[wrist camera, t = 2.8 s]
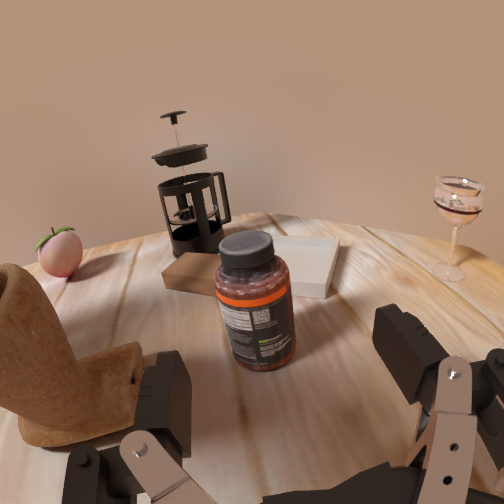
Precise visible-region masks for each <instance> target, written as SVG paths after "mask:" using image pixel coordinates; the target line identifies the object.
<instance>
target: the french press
mask: <svg viewBox="0 0 504 504" xmlns="http://www.w3.org/2000/svg"><path fill="white" fill-rule="evenodd" d="M183 113H186V111H177V112H171V113H167V114H165V115H162V116H161V117H160V118H166V117H170V118H171V123H172V125H174V129H175V135H176V141H177V146H178V147H177V148H173V149H169V150H166V151H163V152H161V153H160V154H157V155H154V156H152V157H151V158H152V159H155V161H156V162H157V164H158V165H160V166H164V165H166V166H168V167H174V168H175V167H179V166H181V167H182V172H183V176H181V177H177V178H174V179H170V180H168V181H165V182H163V183H161V184H159V185H158V190H159V195H160V199H161V203H162V207H163V211H164V216H165V220H166V223H167V227H168V231H169V235H170V239H171V243H172V247H173V255H174V257H175V258H177V259H178V258H179V257H180V256H182V255H183V254H184V253H185V252H190V253H203V254H217V253H219V244H220V242H221V241H222V240H223V239H224V238H225V237H224V232H223V227H222V225H223V224H226V223H229V222H231V215H230V209H229V203H228V198H227V191H226V186H225V180H224V174H223V173H222V172H214V173H196V174H190V175H185V171H184V165H188V164H192V163H196V162H199V161H202V160H205V159H207V154H206V148H205V147H208V144H202V145H196V144H193V145H187V146H181V147H180V145H179V139H178V134H177V128H176V124H177V115H180V114H183ZM216 175H218V178H219V184H220V190H221V196H222V200H223V207H224V212H225V219H222V220H221V219H220V214H219V208H218V203H217V197H216V192H215V187H214V177H213V176H216ZM200 180H201V181H200ZM193 181H197V182H194V183H190V184H187V182H193ZM183 183H185V185H184V184H183ZM173 186H174V187H173ZM209 186H210V191H211V197H212V202H213V205H211V204H205V203H204V198H203V193H202V189H204V188H207V187H209ZM189 193H191V196H192V201H193V205H191V201H190V196H189ZM186 194H187V197H188V202H189V206H188V204H187V199H186ZM163 196H176V198H177V203H178V207H179V210H178V211H175V212H173V213H172V214H170V215H169V216H168V214H167V210H166V206H165V201H164V197H163ZM214 215H215V217H216V221H215V220H208V219H209V218H211V217H212V216H214ZM170 224H172V225H183V226H181V227H178V228H177V229H175V230H174V231H173V232H172V230H171V226H170Z"/></svg>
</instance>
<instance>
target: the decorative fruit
mask: <svg viewBox="0 0 504 504" xmlns="http://www.w3.org/2000/svg"><path fill="white" fill-rule="evenodd" d="M51 229H52V232H53V235H49V236H46V237H44V238H43V239H42V240H40V241H39V243H38V245H37V247H36V251H37V249H38V248H39V251H38V259H39V263H40V265H41V267H42V268H43V269H44V271H46V272H47V273H48V274H50V275H52V276H55V277H59V278H65V277H71V275H72V273H73V272H74V271H75V270H76V269H77V268H78V266H79V264H80V262H81V259H82V254H83V249H82V244H81V241H80V239H79V237H78V236H77V235H75V234H74V233H72V232H70V231H68V230H75V229H73V228H70V227H64V228H61V229H59V230H57V231H56V233H54V230H53V227H52V228H51Z"/></svg>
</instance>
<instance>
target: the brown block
mask: <svg viewBox="0 0 504 504" xmlns="http://www.w3.org/2000/svg"><path fill="white" fill-rule="evenodd" d="M221 263H222V262H221V257H220V255H217V254H203V253H190V252H185V253H184V254H183V255H182V256H180V257H179V258H178V259H177V260H176V261H174V262H173V263H172V264H171V265H170V266H169V267H167V268H166V269H165V270H164V271H163V272H161V274H162V277H163V280H164V283H165V286H166V288H167V289H173V290H179V291H185V292H191V293H197V294H203V295H210V296H216V297H217V294H216V290H215V286H214V276H215V272H216V270H217V269H218V267H219V266H220V265H221Z"/></svg>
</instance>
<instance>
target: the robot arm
mask: <svg viewBox="0 0 504 504" xmlns="http://www.w3.org/2000/svg"><path fill="white" fill-rule="evenodd" d="M372 338H373V344H374V347H375V349H376V351H377V352H378V354H379V356H380V357H381V359H382V360H383V362H384V363H385V365H386V367H387V368H388V370H389V371H390V373H391V375H392V376H393V378H394V380H395V381H396V383H397V384H398V386H399V388H400V389H401V391H402V393H403V394H404V396H405V398H406V399H407V401H408V403H409V404H410V405H411V404H413V403H415V402H418V401H419V402H420V403H421V407H420V411H419V416H418V421H417V426H416V431H415V435H414V439H413V443H412V447H411V450H410V452H409V454H408V456H407V459H406V461H405V464H404V466H395V467H391V466H390V464H389V462H385V463H383V464H381V465H378V466H375V467H373V468H370V469H368V470H365V471H362V472H359V473H358V474H356V475H355V476H353V477H351V478H350V479H348V480H346V481H345V482H343V483H341V484H339V485H337V486H336V487H334V488H332V489H328V490H310V491H292V492H287V493H282V494H276V495H270V496H264V497H262V498H263V503H260V504H504V409H503V408H502V406H501V405H500V403H499V402H498V400H497V399H496V396H497V395H498V396H499V397H500V399H501V400H502V402H503V403H504V349H499V348H497V349H493V350H491V351H490V352H489V353H488V355H487V357H486V359H485V360H482V361H477V362H472V363H468V362H467V361H466V360H465V359H463V358H461V357H457V356H450V355H449V354H448V353H447V352H446V351H445V349H444V348H443V347H442V346H441V345H440V343H439V342H438V341H437V340H436V339H435V338H434V336H433V335H432V334H431V333H429V331H428V329H427V328H426V327H424V325H423V324H422V323H421V321H420V320H419V319H418V318H417V317H415V316H414V315H412V314H410V313H408V312H404V313H403V312H402V311H401V310H400V309H399V308H398V306H397V305H396V304H389V305H386V306H383V307H379V308H377V309H376V312H375V320H374V328H373V336H372ZM138 397H139V398H138V400H137V405H136V411H135V417H134V423H133V429H132V432H131V433H129V434H128V435H126V436H125V437H124V438H123V440H122V441H121V444H120V445H118V446H115V447H111V448H107V449H104V450H100V451H98V450H97V449H95V448H94V447H93V446H91V445H86V444H84V445H79V446H77V447H75V448H74V449H73V450H72V451H71V453H70V455H69V457H68V462H67V468H66V474H65V481H64V488H63V496H62V504H137V494H140V493H144V492H146V493H147V494H148V495H149V497H150V498H151V504H218V503H217V502H216V501H215V500H214V499H213V498H212V497H211V496H209V495H208V494H207V493H206V492H205V491H204V490H203V489H202V488H201V487H200V486H199V485H198V484H197V483H196V482H195V481H194V480H193V479H192V477H191V476H190V475H189V474H188V473H187V472H186V471H185V470H184V469H183V468H182V458H190V457H191V401H192V386H191V380H190V376H189V374H188V372H187V370H186V367H185V365H184V363H183V361H182V358H181V356H180V354H179V352H178V351H177V350H174V351H167V352H159V353H158V355H157V361H156V366H149V367H148V368H147V370H146V371H145V373H144V374H143V376H142V378H141V384H140V389H139V394H138ZM476 431H478V433H479V435H480V436H481V438H482V440H483V442H484V444H485V446H486V447H487V449H488V451H489V453H490V455H491V457H492V459H493V461H494V463H495V465H496V467H497V469H498V471H499V473H498V477H497V482H496V483H495V489H496V490H497V491H499V495H498V496H495V495H491V494H488V493H485V492H481V491H478V490H475V489H472V488H469V482H470V477H471V471H472V465H473V458H474V451H475V442H476Z"/></svg>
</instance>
